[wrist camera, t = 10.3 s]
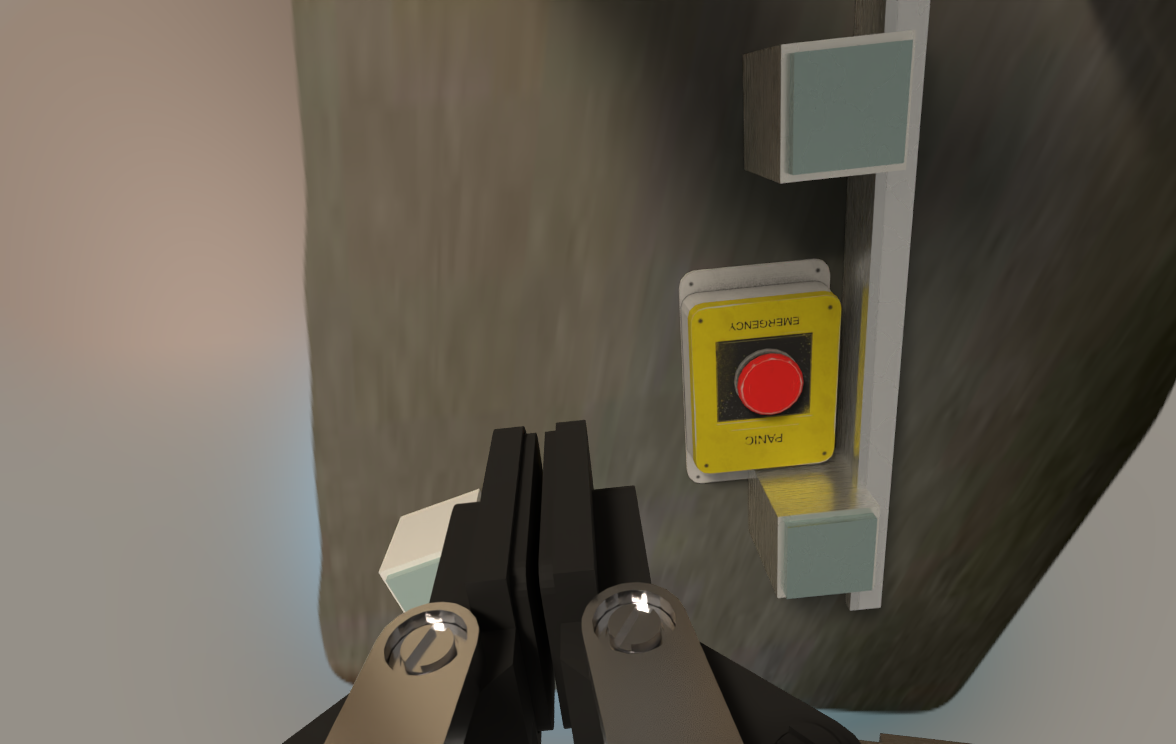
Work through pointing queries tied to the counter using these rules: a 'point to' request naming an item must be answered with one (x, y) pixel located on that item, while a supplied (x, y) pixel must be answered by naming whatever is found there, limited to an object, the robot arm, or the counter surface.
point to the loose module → (419, 551)
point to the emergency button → (758, 367)
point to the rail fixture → (844, 282)
